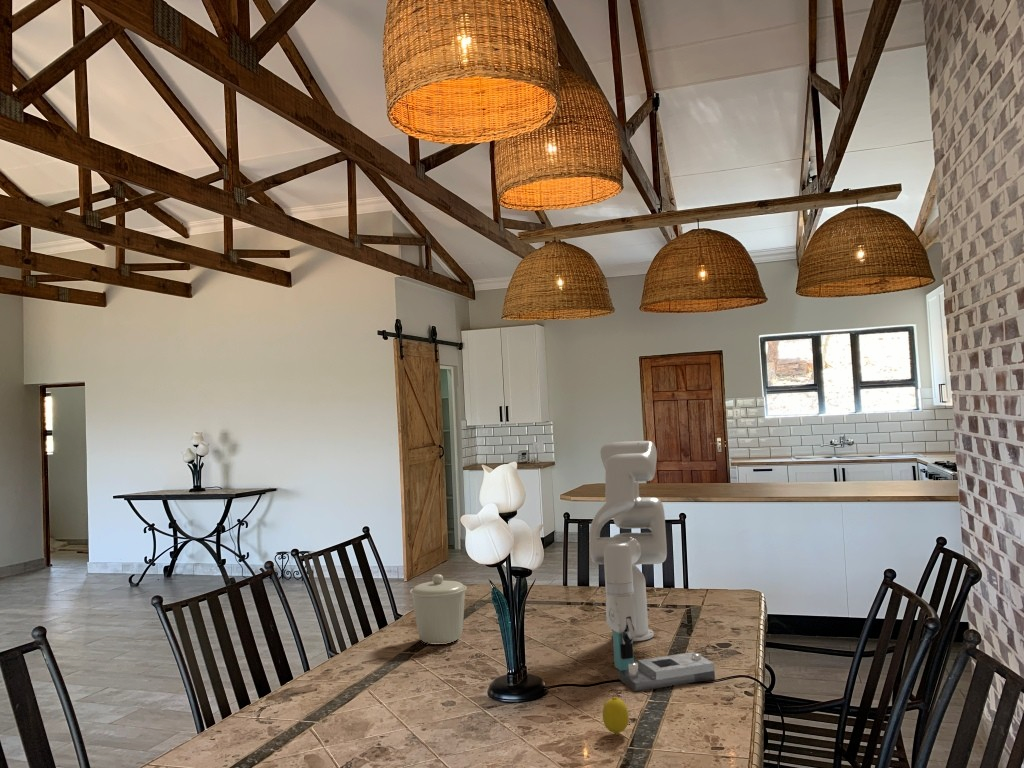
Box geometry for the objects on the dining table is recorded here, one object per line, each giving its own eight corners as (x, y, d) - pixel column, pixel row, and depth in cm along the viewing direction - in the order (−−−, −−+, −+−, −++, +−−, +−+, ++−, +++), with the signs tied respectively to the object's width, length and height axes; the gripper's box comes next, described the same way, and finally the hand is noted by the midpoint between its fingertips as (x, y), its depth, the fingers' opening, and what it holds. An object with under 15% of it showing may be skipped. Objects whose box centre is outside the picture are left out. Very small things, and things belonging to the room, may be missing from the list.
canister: (473, 632, 260) (469, 567, 261) (464, 648, 243) (460, 579, 243) (419, 634, 262) (415, 569, 263) (406, 650, 244) (403, 581, 245)
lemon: (601, 730, 173) (599, 693, 174) (626, 728, 174) (624, 691, 174) (606, 741, 168) (604, 702, 168) (632, 738, 168) (630, 700, 169)
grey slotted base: (618, 678, 207) (617, 659, 207) (694, 667, 213) (693, 648, 213) (635, 691, 197) (634, 671, 197) (714, 678, 203) (713, 658, 203)
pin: (614, 666, 217) (612, 629, 218) (628, 664, 218) (625, 627, 219) (620, 670, 213) (618, 633, 214) (634, 668, 214) (631, 631, 215)
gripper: (595, 583, 224) (599, 649, 223) (619, 595, 208) (623, 666, 207) (619, 580, 226) (623, 646, 225) (645, 592, 210) (649, 662, 209)
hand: (623, 655), depth 216 cm, fingers closed on pin, 4 cm apart
